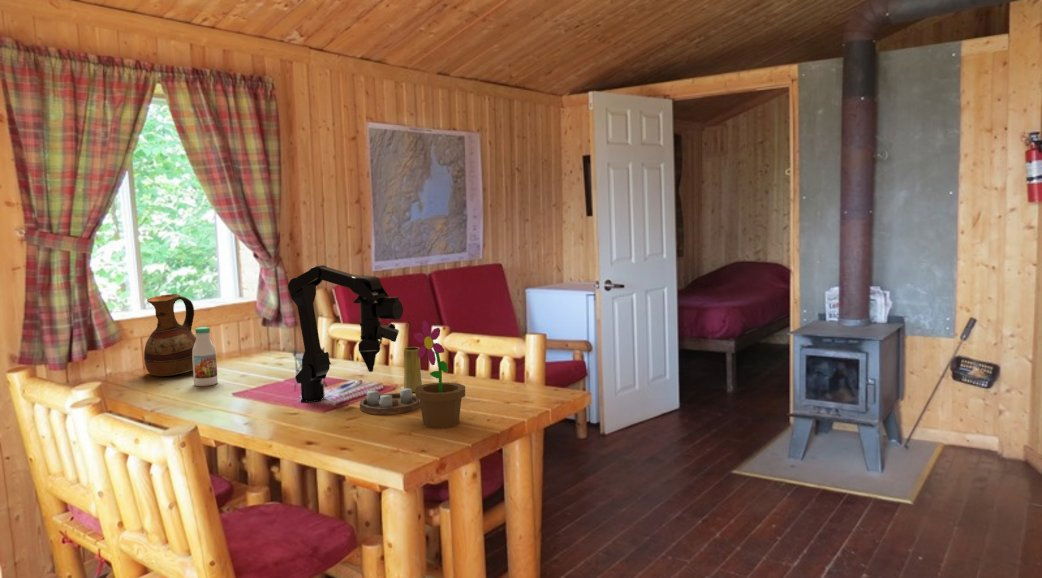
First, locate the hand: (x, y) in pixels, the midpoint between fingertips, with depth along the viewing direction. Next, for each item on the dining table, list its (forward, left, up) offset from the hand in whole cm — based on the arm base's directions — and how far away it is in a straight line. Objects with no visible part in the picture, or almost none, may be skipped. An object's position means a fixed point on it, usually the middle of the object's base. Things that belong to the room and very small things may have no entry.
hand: (371, 368), depth 236 cm
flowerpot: (+20, -22, -12) cm, 32 cm away
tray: (+5, -1, -12) cm, 13 cm away
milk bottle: (-60, +41, -12) cm, 74 cm away
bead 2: (+4, -6, -11) cm, 14 cm away
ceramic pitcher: (-76, +61, -12) cm, 98 cm away
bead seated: (+10, +1, -11) cm, 15 cm away
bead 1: (0, 0, -11) cm, 11 cm away
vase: (+12, +18, -12) cm, 25 cm away
